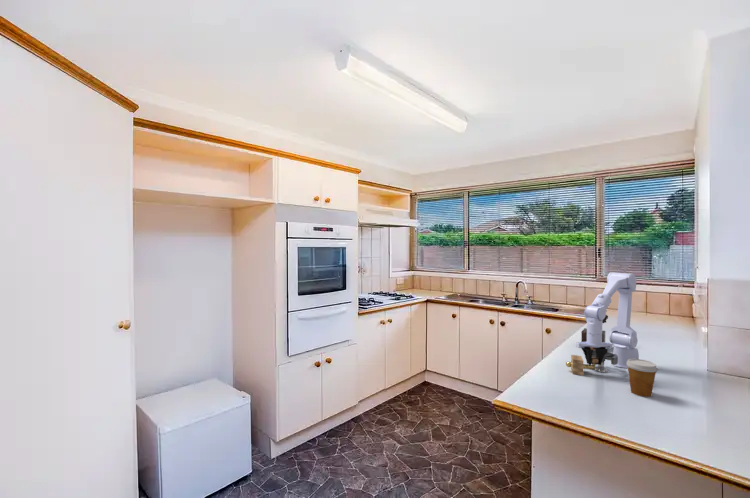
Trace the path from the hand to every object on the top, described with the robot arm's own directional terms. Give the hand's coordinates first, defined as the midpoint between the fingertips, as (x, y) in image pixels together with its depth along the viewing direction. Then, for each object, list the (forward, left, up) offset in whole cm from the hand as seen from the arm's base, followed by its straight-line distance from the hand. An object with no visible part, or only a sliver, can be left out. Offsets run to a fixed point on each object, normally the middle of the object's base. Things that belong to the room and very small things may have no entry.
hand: (593, 364), depth 152 cm
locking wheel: (-4, -9, 0) cm, 9 cm away
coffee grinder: (-7, -48, -5) cm, 49 cm away
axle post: (-4, -7, -5) cm, 10 cm away
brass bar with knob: (+5, 0, -3) cm, 5 cm away
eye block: (+6, 0, -5) cm, 8 cm away
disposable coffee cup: (-13, +15, -5) cm, 21 cm away
